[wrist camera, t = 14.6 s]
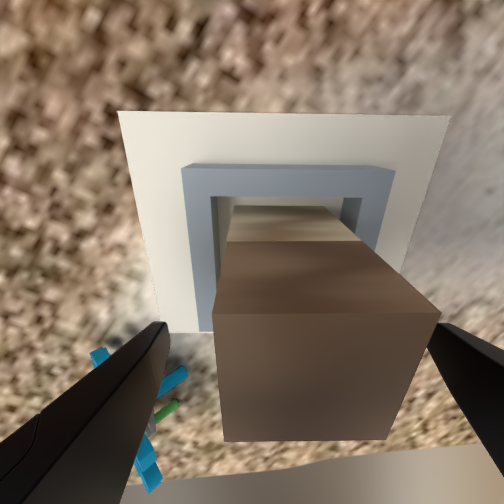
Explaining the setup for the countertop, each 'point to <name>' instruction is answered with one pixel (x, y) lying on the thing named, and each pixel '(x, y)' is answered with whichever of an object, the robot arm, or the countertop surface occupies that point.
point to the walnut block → (314, 341)
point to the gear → (149, 424)
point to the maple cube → (286, 224)
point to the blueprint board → (268, 186)
